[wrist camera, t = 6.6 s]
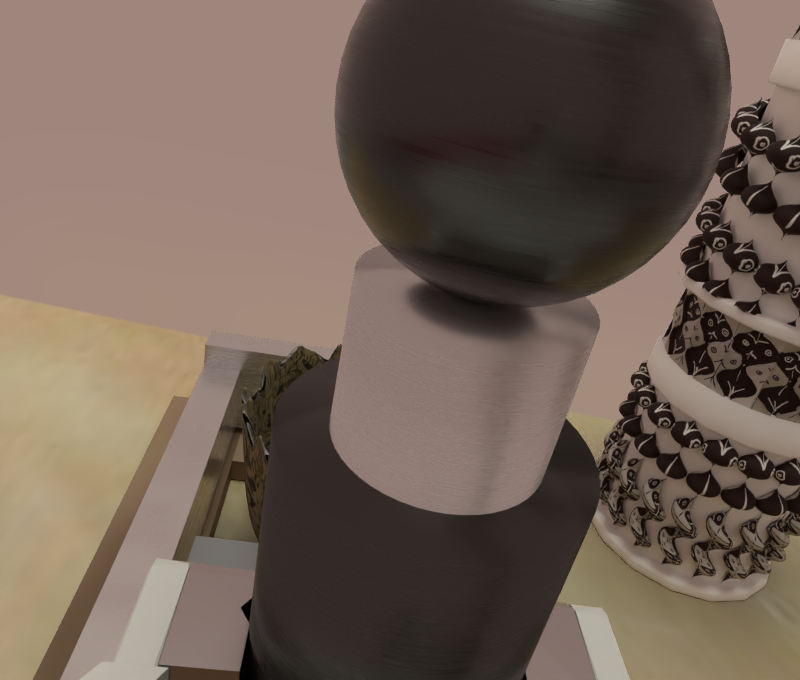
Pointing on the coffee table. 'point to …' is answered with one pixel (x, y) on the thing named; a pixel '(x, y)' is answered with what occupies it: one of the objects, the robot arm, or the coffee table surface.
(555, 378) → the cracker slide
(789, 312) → the decorative candle
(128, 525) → the base
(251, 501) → the cup
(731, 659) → the coffee table surface
